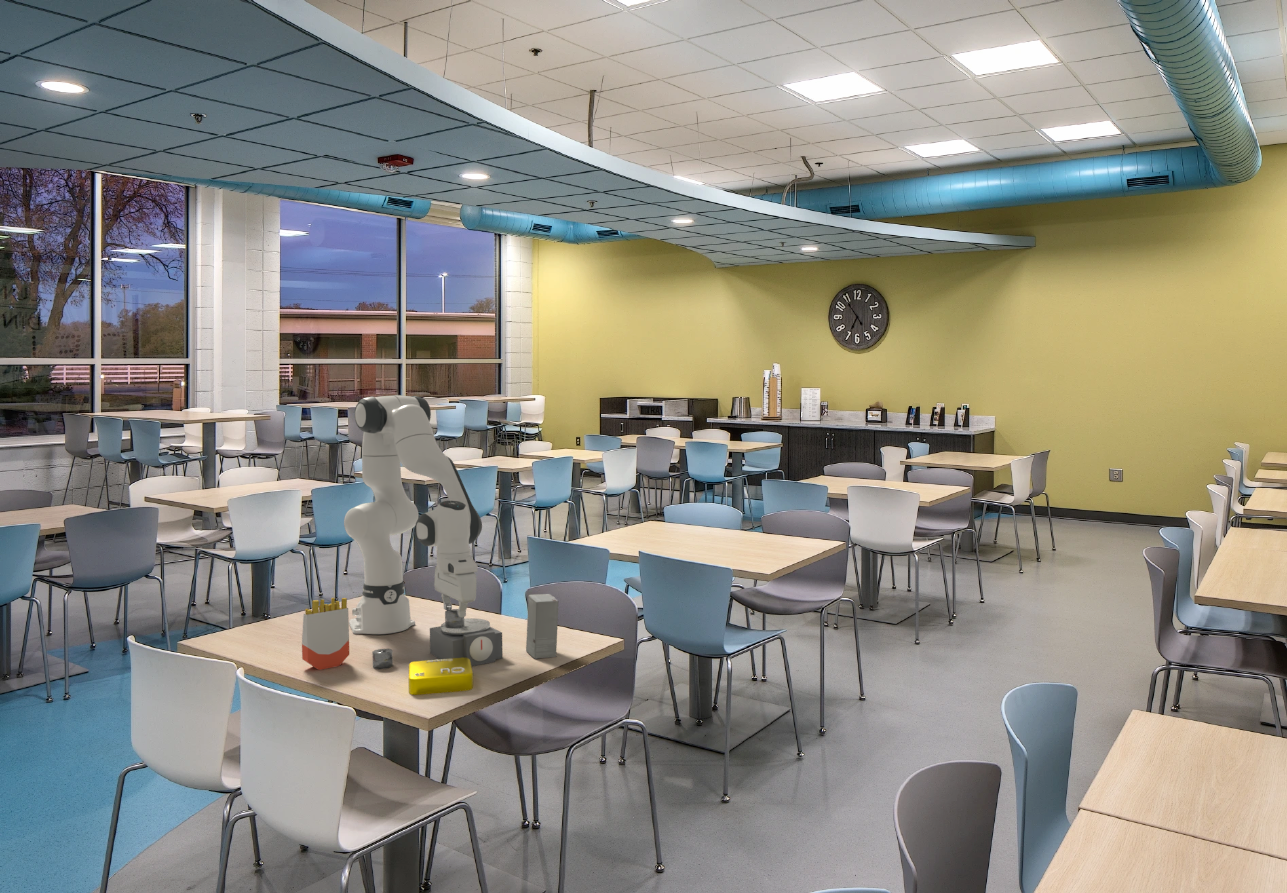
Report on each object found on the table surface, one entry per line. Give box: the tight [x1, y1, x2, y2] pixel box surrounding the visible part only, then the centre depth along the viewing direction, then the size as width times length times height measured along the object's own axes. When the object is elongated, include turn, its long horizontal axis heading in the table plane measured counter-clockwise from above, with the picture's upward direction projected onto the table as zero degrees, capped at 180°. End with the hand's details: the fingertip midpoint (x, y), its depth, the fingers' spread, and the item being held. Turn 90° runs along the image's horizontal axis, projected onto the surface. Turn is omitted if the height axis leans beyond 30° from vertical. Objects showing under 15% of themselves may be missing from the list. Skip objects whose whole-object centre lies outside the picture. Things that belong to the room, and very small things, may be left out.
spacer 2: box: [444, 608, 465, 628], centre depth 239 cm, size 5×5×4 cm
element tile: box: [407, 658, 474, 696], centre depth 218 cm, size 15×15×5 cm
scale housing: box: [429, 625, 504, 667], centre depth 240 cm, size 18×14×8 cm
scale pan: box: [440, 617, 491, 635], centre depth 241 cm, size 13×13×1 cm
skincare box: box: [525, 593, 559, 660], centre depth 242 cm, size 8×7×16 cm
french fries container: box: [301, 597, 350, 671], centre depth 232 cm, size 5×11×18 cm, turn 130°
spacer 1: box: [371, 648, 394, 670], centre depth 232 cm, size 5×5×4 cm
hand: (454, 613), depth 239 cm, fingers open, 8 cm apart
